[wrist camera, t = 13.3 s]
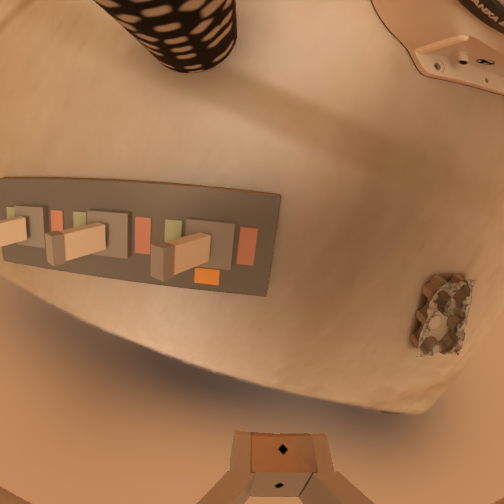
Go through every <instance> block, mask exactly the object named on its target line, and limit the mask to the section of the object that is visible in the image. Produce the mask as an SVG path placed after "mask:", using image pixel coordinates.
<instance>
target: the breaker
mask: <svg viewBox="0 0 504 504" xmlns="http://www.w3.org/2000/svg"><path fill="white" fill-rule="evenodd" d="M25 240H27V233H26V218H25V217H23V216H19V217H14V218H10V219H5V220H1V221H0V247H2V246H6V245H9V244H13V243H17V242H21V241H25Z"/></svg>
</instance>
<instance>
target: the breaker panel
mask: <svg viewBox="0 0 504 504" xmlns="http://www.w3.org/2000/svg"><path fill="white" fill-rule="evenodd" d="M280 200H281V196H280V194H275V193H267V192H258V191H250V190H241V189H231V188H222V187H211V186H201V185H189V184H177V183H164V182H150V181H134V180H116V179H93V178H58V177H5V178H0V221H1V220H5V219H10V218H14V217H19V216H23V217H25V218H26V233H27V240H25V241H21V242H17V243H13V244H9V245H6V246H2V252H3V259H4V261H8V262H13V263H19V264H24V265H30V266H36V267H41V268H47V269H53V270H59V271H66V272H72V273H78V274H85V275H91V276H98V277H105V278H112V279H119V280H126V281H134V282H141V283H149V284H156V285H164V286H173V287H181V288H190V289H198V290H207V291H217V292H226V293H236V294H246V295H256V296H266V295H267V289H268V282H269V276H270V269H271V262H272V256H273V249H274V242H275V235H276V228H277V221H278V214H279V207H280ZM98 222H99V223H102V224H104V225H105V242H106V250H102V251H99V252H95V253H92V254H89V255H85V256H82V257H78V258H75V259H72V260H68V261H65V263H64V264H61V265H57V266H53V265H51V264H50V263H48V262H47V254H46V242H45V233H47V232H51V231H55V230H57V231H62V230H66V229H70V228H75V227H79V226H84V225H88V224H93V223H98ZM199 232H201V233H205V234H208V235H211V241H210V253H209V261H208V262H205V263H203V264H200V265H198V266H195V267H193V268H190V269H188V270H185V271H183V272H181V273H178V274H176V275H174V277H173V278H170V279H168V280H166V281H161V280H159V279H156V278H154V277H152V276H151V244H153V243H157V242H160V241H163V242H167V241H170V240H174V239H177V238H181V237H184V236H188V235H192V234H195V233H199Z"/></svg>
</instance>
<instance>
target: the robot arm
mask: <svg viewBox="0 0 504 504" xmlns="http://www.w3.org/2000/svg"><path fill="white" fill-rule="evenodd" d="M372 2H373V5H374V7H375V9H376V11H377V13H378V15H379V16H380V18H381V20H382V21H383V22H384V24H385V25H386V26H387V28H388V29H389V30H390V31H391V32H392V33H393V34H394V36H395V37H396V38H397V39H398V40H399V41H400V42H401V43H402V44H403V45H404V46H405V47H406V48H407V50H408V51H409V53H410V55H411V57H412V59H413V61H414V63H415V65H416V67H417V68H418V70H419V71H420V72H421V73H422V74H423V75H425V76H427V77H432V78H437V79H442V80H447V81H452V82H456V83H460V84H465V85H469V86H473V87H476V88H480V89H484V90H487V91H491V92H494V93H497V94H501V95H504V0H372ZM434 64H435V65H436V67H437V69H436V68H435V66H434ZM249 496H260V497H264V496H265V497H268V496H269V497H273V496H274V497H276V496H277V497H299V499H300V500H301V501H302V502H303V504H374V503H373V502H372V501H371V500H370V499H369V498H367V497H366V496H365V495H364V494H363V493H362V492H361V491H359V490H358V489H357V488H356V487H355V486H354V485H353V484H351V483H350V482H349V481H348V480H347V479H346V478H345V477H344V476H343V475H341V473H339V472H334V468H333V463H332V459H331V454H330V450H329V445H328V441H327V436H326V435H325V434H323V433H320V434H309V433H303V434H302V433H301V434H299V433H298V434H295V433H294V434H293V433H291V434H290V433H280V434H273V433H259V432H248V431H236V430H235V431H234V436H233V443H232V450H231V458H230V471H227V473H226V474H225V475H224V476H223V477H222V478H221V479H220V480H219V481H218V482H217V483H216V484H215V485H214V487H213V488H212V489H211V490H210V491H209V492H208V493H207V494H206V495H205V496H204V497H203V498H202V499H201V500H200V501H199V502H198V503H197V504H244V503H245V502H246V501H247V499H248V498H249ZM0 504H31V503H30V502H27V501H26V500H24V499H22V498H20V497H18V496H16V495H15V494H13V493H11V492H9V491H7V490H6V489H4V488H2V487H0ZM492 504H504V498H502V499H500V500H498V501H496V502H494V503H492Z"/></svg>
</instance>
